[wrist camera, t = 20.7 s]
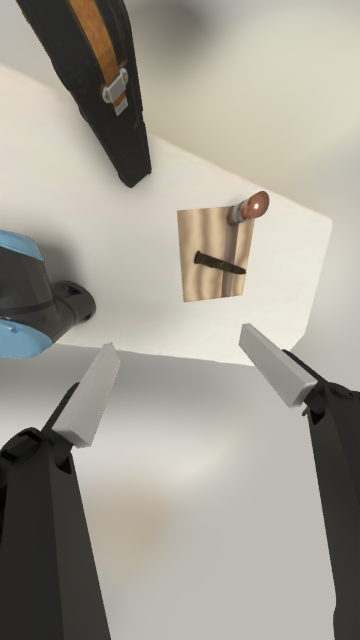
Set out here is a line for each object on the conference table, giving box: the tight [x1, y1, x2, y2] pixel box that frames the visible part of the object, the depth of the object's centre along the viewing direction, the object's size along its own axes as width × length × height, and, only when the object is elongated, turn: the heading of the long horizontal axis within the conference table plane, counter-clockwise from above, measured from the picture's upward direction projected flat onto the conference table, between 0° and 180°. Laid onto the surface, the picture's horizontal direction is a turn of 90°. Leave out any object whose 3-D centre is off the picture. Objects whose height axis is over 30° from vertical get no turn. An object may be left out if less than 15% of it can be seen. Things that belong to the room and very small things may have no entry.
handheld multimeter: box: [16, 0, 152, 187], centre depth 18 cm, size 16×9×25 cm, turn 32°
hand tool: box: [194, 250, 246, 275], centre depth 43 cm, size 19×4×5 cm, turn 71°
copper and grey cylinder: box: [226, 191, 269, 226], centre depth 33 cm, size 4×4×12 cm
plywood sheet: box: [177, 206, 255, 302], centre depth 44 cm, size 24×28×1 cm
